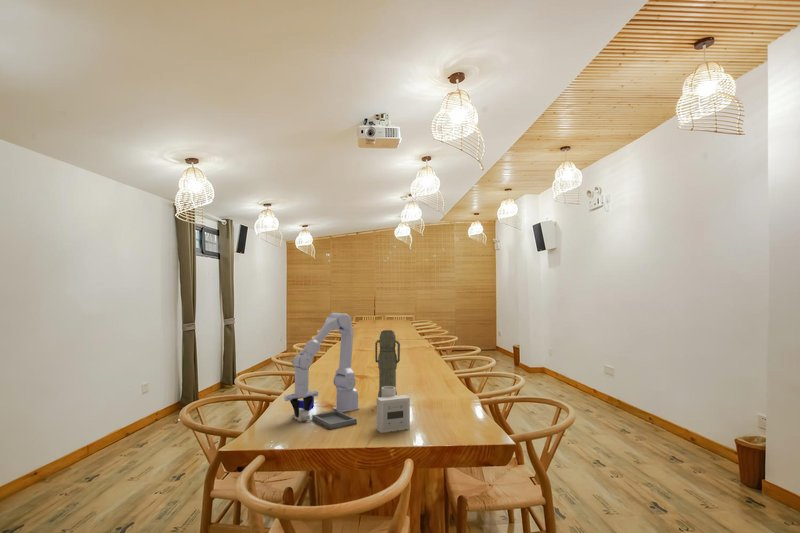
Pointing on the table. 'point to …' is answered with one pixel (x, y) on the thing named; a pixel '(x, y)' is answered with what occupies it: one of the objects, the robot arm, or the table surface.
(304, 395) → the robot arm
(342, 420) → the tray
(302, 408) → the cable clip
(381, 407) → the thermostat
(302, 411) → the connector
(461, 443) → the table surface
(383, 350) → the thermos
